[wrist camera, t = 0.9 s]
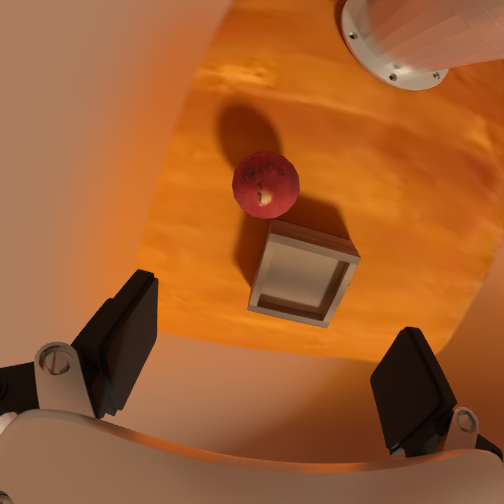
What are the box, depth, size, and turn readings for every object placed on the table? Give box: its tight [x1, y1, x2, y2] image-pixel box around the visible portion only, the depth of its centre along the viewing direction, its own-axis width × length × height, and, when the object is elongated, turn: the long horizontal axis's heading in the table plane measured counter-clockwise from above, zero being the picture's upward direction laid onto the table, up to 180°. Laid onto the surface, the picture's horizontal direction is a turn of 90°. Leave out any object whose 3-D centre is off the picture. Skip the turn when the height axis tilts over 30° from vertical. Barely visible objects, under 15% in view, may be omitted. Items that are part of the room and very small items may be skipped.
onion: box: [232, 152, 300, 219], centre depth 24 cm, size 6×6×8 cm
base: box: [247, 218, 361, 328], centre depth 29 cm, size 9×9×4 cm
